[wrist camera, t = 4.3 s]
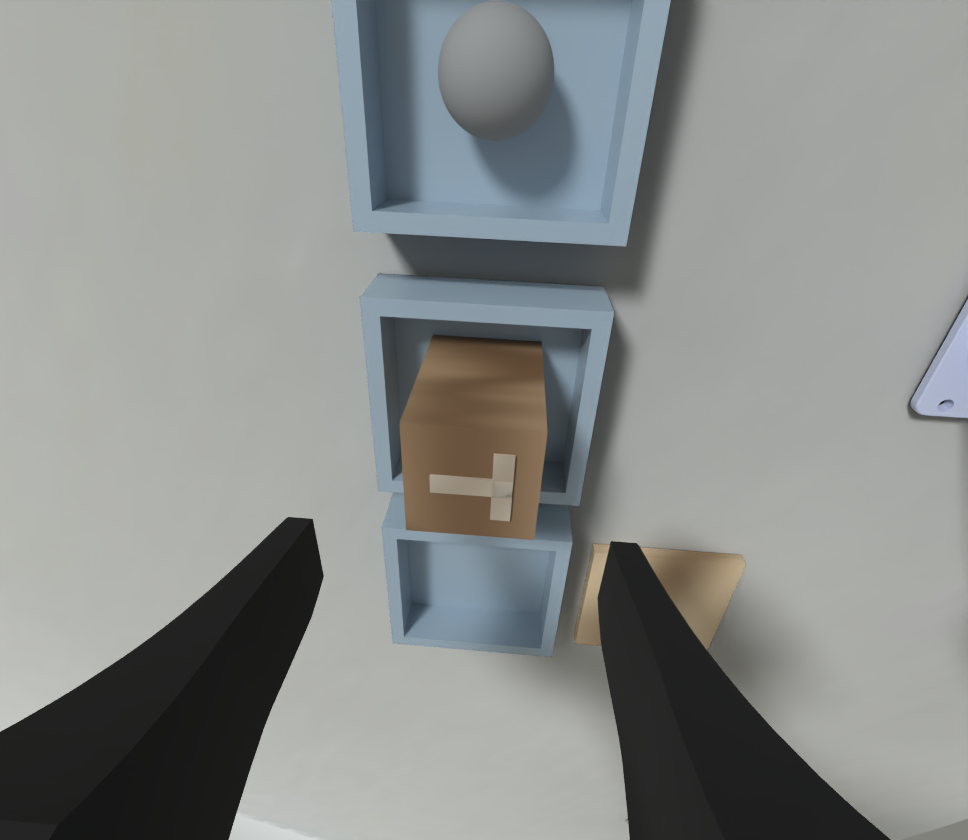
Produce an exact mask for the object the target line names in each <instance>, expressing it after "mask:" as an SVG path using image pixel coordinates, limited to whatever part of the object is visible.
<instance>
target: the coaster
mask: <svg viewBox="0 0 968 840" xmlns="http://www.w3.org/2000/svg"><path fill="white" fill-rule="evenodd" d="M609 547H610V545H605V544H593V547H592V552H591V557H590V561H589V566H588V571H587V576H586V580H585V585H584V590H583V594H582V599H581V604H580V609H579V613H578V618H577V623H576V627H575V632H574V638H575V644H587V645H599V646H602V645H601V639H600V628H599V614H598V600H597V598H598V593H599V589H600V585H601V581H602V576H603V572H604V568H605V564H606V560H607V555H608V551H609ZM640 548H641V549H642V551H643V553H644V555H645V557H646V558H647V560H648V562H649V564H650V565H651V567H652V569H653V570H654V572H655V574H656V575H657V577H658V579H659V580H660V582H661V583H662V585H663V587H664V588H665V590H666V592H667V593H668V595H669V596H670V598H671V599H672V601H673V602H674V604H675V605H676V607H677V608H678V610H679V611H680V613H681V614H682V616H683V617H684V619H685V620H686V622H687V623H688V625H689V626H690V628H691V629H692V630H693V632H694V633H695V635H696V636H697V637H698V639H699V640H700V642H701V643H702V644H703V646H704V647H705V648H706V650H708V648H709V646H710V643H711V641H712V639H713V637H714V635H715V632H716V630H717V628H718V626H719V623H720V621H721V619H722V617H723V614H724V612H725V610H726V608H727V606H728V603H729V601H730V599H731V597H732V594H733V592H734V590H735V588H736V586H737V583H738V581H739V579H740V577H741V574H742V572H743V570H744V568H745V565H746V564H745V562H744V560H743V558H742V555H735V554H722V553H709V552H696V551H683V550H670V549H657V548H644V547H640Z"/></svg>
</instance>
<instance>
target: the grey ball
mask: <svg viewBox="0 0 968 840" xmlns="http://www.w3.org/2000/svg"><path fill="white" fill-rule="evenodd" d="M438 82H439V87H440V92H441V96H442V99H443V101H444V104H445V106H446V108H447V110H448V112H449V113H450V115H451V116H452V118H453V119H454V120H455V122H456V123H457V124H458V125H459V126H460V127H461V128H463V129H464V130H465V131H466V132H468V133H470V134H471V135H473V136H476V137H478V138H481V139H484V140H491V141H501V140H506V139H510V138H513V137H515V136H517V135H519V134H521V133H523V132H524V131H526V130H527V129H528V128H530V127H531V126H532V125H533V124H534V123H535V122H536V121H537V119H538V118H539V117H540V115H541V114H542V112H543V111H544V109H545V107H546V105H547V103H548V100H549V98H550V95H551V91H552V88H553V82H554V58H553V53H552V48H551V45H550V42H549V39H548V37H547V35H546V33H545V31H544V29H543V28H542V26H541V25H540V23H539V22H538V21H537V20H536V18H535V17H534V16H532V15H531V14H530V13H529V12H528V11H526V10H525V9H524V8H522V7H520V6H518V5H516V4H513V3H510V2H506V1H488V2H483V3H480V4H478V5H475V6H474V7H472V8H470V9H468V10H467V11H466V12H464V13H463V14H462V15H461V16H460V17H459V18H458V19H457V20H456V21H455V22H454V24H453V25H452V27H451V28H450V29H449V31H448V33H447V35H446V37H445V39H444V42H443V44H442V48H441V51H440V56H439V62H438Z"/></svg>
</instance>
